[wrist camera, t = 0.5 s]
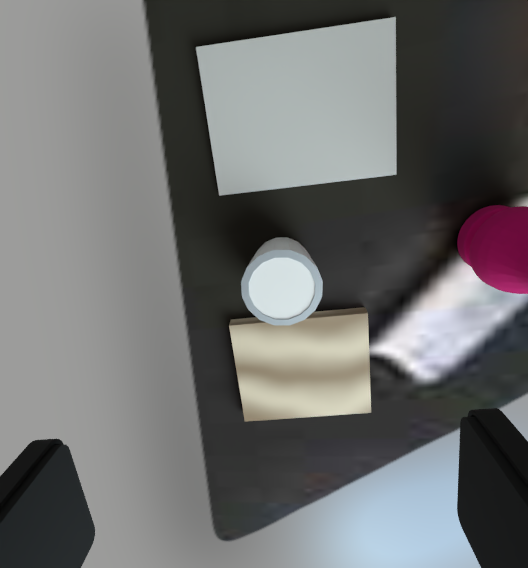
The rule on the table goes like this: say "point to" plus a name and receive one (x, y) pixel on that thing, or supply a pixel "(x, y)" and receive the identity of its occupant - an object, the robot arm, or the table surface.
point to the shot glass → (281, 283)
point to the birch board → (303, 365)
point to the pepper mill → (497, 246)
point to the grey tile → (302, 106)
